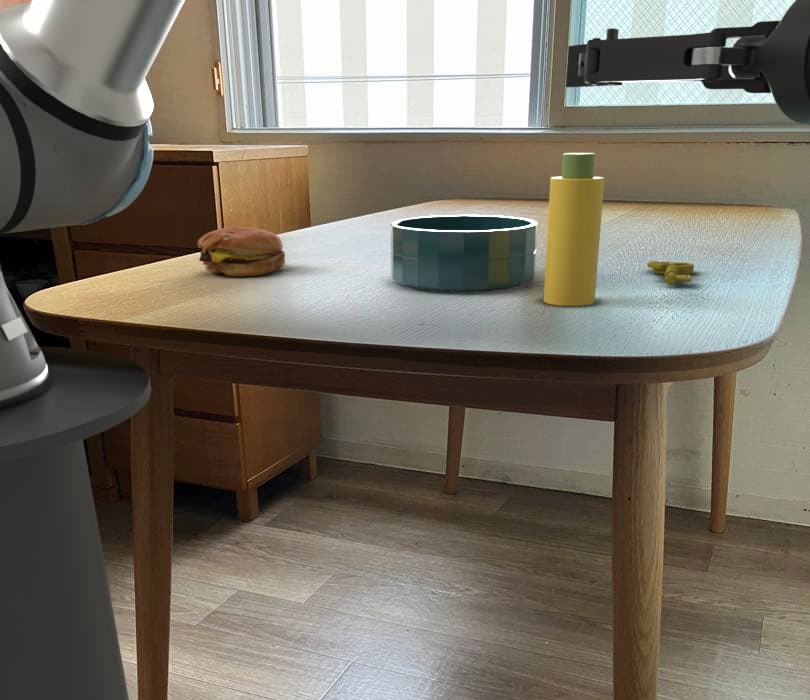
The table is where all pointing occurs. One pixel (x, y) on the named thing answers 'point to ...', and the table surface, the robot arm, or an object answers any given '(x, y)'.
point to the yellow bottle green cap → (573, 232)
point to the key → (673, 271)
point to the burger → (241, 251)
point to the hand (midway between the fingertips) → (649, 67)
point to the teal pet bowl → (463, 252)
